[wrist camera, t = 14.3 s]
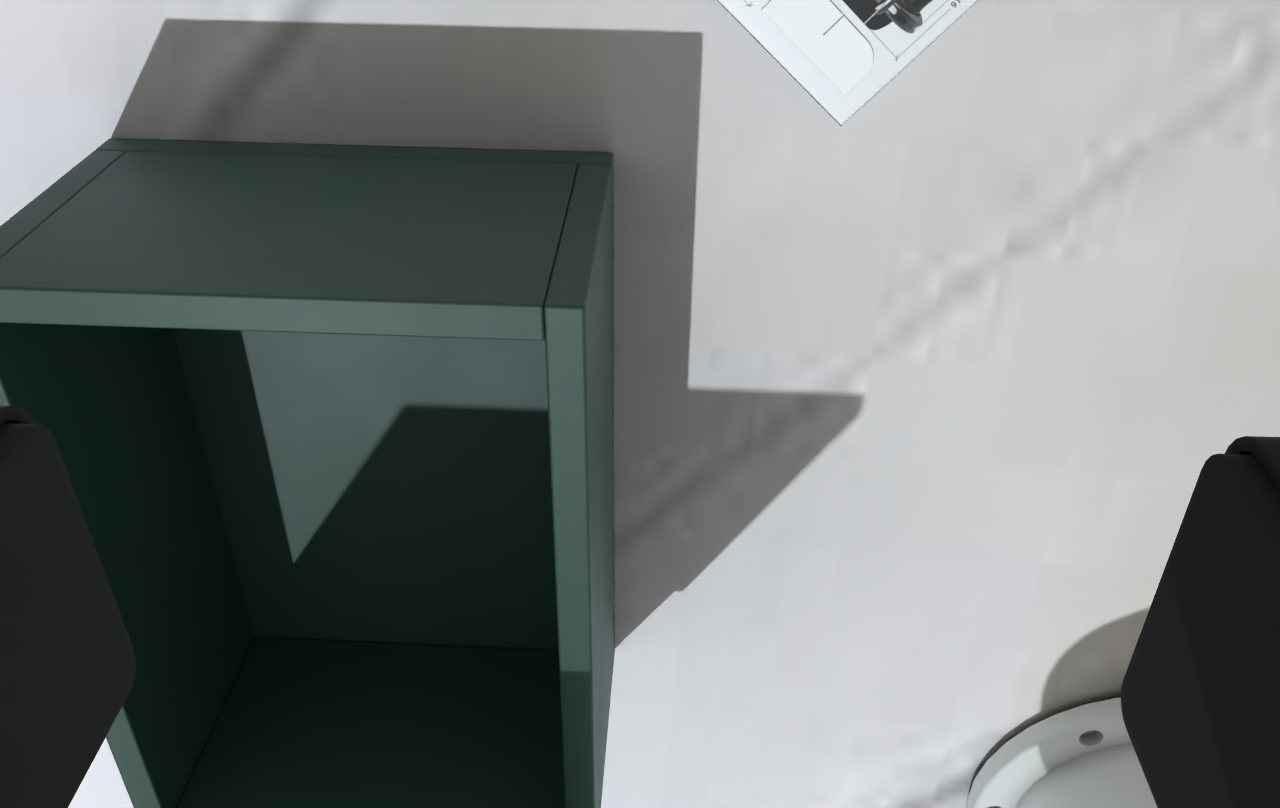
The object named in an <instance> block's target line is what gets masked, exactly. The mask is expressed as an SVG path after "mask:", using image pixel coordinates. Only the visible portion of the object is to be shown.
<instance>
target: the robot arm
mask: <svg viewBox="0 0 1280 808" xmlns="http://www.w3.org/2000/svg"><path fill="white" fill-rule="evenodd" d="M135 668H136V661H135V653H134V648H133V645H132V643H131V640H130V637H129V635H128V632H127V629H126V627H125V624H124V622H123V619H122V616H121V614H120V611H119V608H118V606H117V603H116V600H115V598H114V595H113V592H112V590H111V587H110V584H109V582H108V579H107V576H106V574H105V571H104V568H103V566H102V563H101V560H100V558H99V555H98V552H97V550H96V547H95V544H94V542H93V539H92V536H91V534H90V531H89V528H88V526H87V523H86V520H85V518H84V515H83V512H82V510H81V507H80V504H79V502H78V499H77V496H76V494H75V491H74V489H73V486H72V483H71V481H70V478H69V475H68V473H67V470H66V467H65V465H64V462H63V459H62V457H61V454H60V451H59V449H58V446H57V443H56V441H55V439H54V437H53V435H52V433H51V431H50V430H48V429H47V428H46V427H45V426H43V425H39V424H35V423H34V421H33V419H32V417H31V416H30V415H29V414H28V413H27V412H26V411H25V410H24V409H22V408H18V407H15V406H0V808H68V806H69V804H70V802H71V801H72V799H73V797H74V795H75V793H76V791H77V789H78V788H79V786H80V784H81V782H82V780H83V778H84V776H85V775H86V773H87V771H88V769H89V767H90V765H91V763H92V762H93V760H94V758H95V756H96V754H97V752H98V750H99V749H100V747H101V745H102V743H103V741H104V739H105V737H106V736H107V734H108V732H109V730H110V728H111V726H112V725H113V723H114V721H115V719H116V717H117V715H118V713H119V712H120V710H121V708H122V706H123V704H124V702H125V700H126V699H127V697H128V695H129V692H130V690H131V688H132V684H133V680H134V677H135ZM967 808H1280V437H1250V436H1245V437H1241V438H1238V439H1236V440H1235V441H1234V442H1233V443H1232V444H1231V445H1230V446H1229V447H1228V449H1227V451H1226V452H1225V454H1216V455H1212V456H1211V457H1210V458H1209V459H1207V460H1206V462H1205V464H1204V466H1203V468H1202V470H1201V472H1200V475H1199V478H1198V481H1197V483H1196V486H1195V489H1194V491H1193V494H1192V497H1191V499H1190V502H1189V505H1188V507H1187V510H1186V513H1185V516H1184V518H1183V521H1182V524H1181V526H1180V529H1179V532H1178V534H1177V537H1176V540H1175V542H1174V545H1173V548H1172V551H1171V553H1170V556H1169V559H1168V561H1167V564H1166V567H1165V569H1164V572H1163V575H1162V577H1161V580H1160V583H1159V585H1158V588H1157V591H1156V594H1155V596H1154V599H1153V602H1152V604H1151V607H1150V610H1149V612H1148V615H1147V618H1146V620H1145V623H1144V626H1143V629H1142V631H1141V634H1140V637H1139V639H1138V642H1137V645H1136V647H1135V650H1134V653H1133V655H1132V658H1131V661H1130V664H1129V666H1128V669H1127V672H1126V674H1125V677H1124V680H1123V684H1122V689H1121V697H1117V698H1112V699H1108V700H1103V701H1098V702H1093V703H1088V704H1084V705H1081V706H1078V707H1075V708H1072V709H1069V710H1066V711H1063V712H1060V713H1057V714H1055V715H1053V716H1051V717H1048V718H1046V719H1044V720H1042V721H1040V722H1038V723H1036V724H1034V725H1032V726H1030V727H1028V728H1027V729H1025V730H1024V731H1022V732H1021V733H1019V734H1018V735H1016V736H1015V737H1013V738H1012V739H1010V740H1009V741H1008V742H1006V743H1005V744H1004V745H1003V746H1002V747H1001V748H1000V749H999V750H998V751H997V752H996V753H994V754H993V755H992V756H991V757H990V758H989V759H988V760H987V761H986V763H985V764H984V766H983V767H982V769H981V770H980V772H979V773H978V775H977V776H976V778H975V779H974V782H973V784H972V787H971V790H970V793H969V795H968V803H967Z"/></svg>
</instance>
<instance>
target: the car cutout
mask: <svg viewBox="0 0 1280 808" xmlns="http://www.w3.org/2000/svg"><path fill="white" fill-rule="evenodd" d="M717 1H718V2H719V3H720V4H721V5H722V6H723V7H724V8H725V9H726V10H727V11H728V12H729V13H730V14H731V15H732V16H733V17H734V18H735V19H736V20H737V21H738V22H739V23H740V24H741V25H742V26H743V27H744V28H745V29H746V30H747V31H748V32H749V33H750V34H751V35H752V36H753V37H754V38H755V39H756V40H757V41H758V42H759V43H760V44H761V45H762V46H763V47H764V48H765V49H766V50H767V51H768V52H769V53H770V54H771V55H772V56H773V58H774V59H775V60H776V61H777V62H778V63H779V64H780V65H781V66H782V67H783V68H784V69H785V70H786V71H787V72H788V73H789V74H790V75H791V76H792V77H793V78H794V79H795V80H796V81H797V82H798V83H799V84H800V85H801V86H802V87H803V88H804V89H805V90H806V91H807V92H808V93H809V94H810V95H811V96H812V97H813V98H814V99H815V100H816V101H817V102H818V103H819V104H820V105H821V106H822V107H823V108H824V109H825V110H826V111H827V112H828V113H829V114H830V115H831V116H832V118H833V119H834V120H835V121H836V122H837V123H838V124H839V125H840V126H842V125H843V124H844V123H845V122H846V121H847V120H848V119H849V118H850V117H851V116H853V115H854V114H855V113H856V112H857V111H858V110H859V109H860V108H861V107H862V106H864V105H865V104H866V103H867V102H868V101H869V100H870V99H871V98H872V97H873V96H874V95H876V94H877V93H878V92H879V91H880V90H881V89H882V88H883V87H884V86H885V85H886V84H888V83H889V82H890V81H891V80H892V79H893V78H894V77H895V76H896V75H897V74H898V73H900V72H901V71H902V70H903V69H904V68H905V67H906V66H907V65H908V64H909V63H911V62H912V61H913V60H914V59H915V58H916V57H917V56H918V55H919V54H920V53H921V52H923V51H924V50H925V49H926V48H927V47H928V46H929V45H930V44H931V43H932V42H933V41H935V40H936V39H937V38H938V37H939V36H940V35H941V34H942V33H943V32H944V31H945V30H947V29H948V28H949V27H950V26H951V25H952V24H953V23H954V22H955V21H956V20H958V19H959V18H960V17H961V16H962V15H963V14H964V13H965V12H966V11H967V10H968V9H970V8H971V7H972V6H973V5H974V4H975V3H976V2H977V1H978V0H717Z"/></svg>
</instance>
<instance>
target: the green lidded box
mask: <svg viewBox="0 0 1280 808" xmlns="http://www.w3.org/2000/svg"><path fill="white" fill-rule="evenodd" d="M0 406H15V407H18V408H22V409H24V410H25V411H26V412H27V413H28V414H29V415H30V416H31V417H32V419H33V421H34V423H35V424H39V425H43V426H45V427H46V428H47V429H48V430H50V431H51V433H52V435H53V437H54V439H55V441H56V443H57V446H58V449H59V451H60V454H61V457H62V459H63V462H64V465H65V467H66V470H67V473H68V475H69V478H70V481H71V483H72V486H73V489H74V491H75V494H76V496H77V499H78V502H79V504H80V507H81V510H82V512H83V515H84V518H85V520H86V523H87V526H88V528H89V531H90V534H91V536H92V539H93V542H94V544H95V547H96V550H97V552H98V555H99V558H100V560H101V563H102V566H103V568H104V571H105V574H106V576H107V579H108V582H109V584H110V587H111V590H112V592H113V595H114V598H115V600H116V603H117V606H118V608H119V611H120V614H121V616H122V619H123V622H124V624H125V627H126V629H127V632H128V635H129V637H130V640H131V643H132V645H133V648H134V653H135V661H136V668H135V677H134V680H133V684H132V688H131V690H130V692H129V695H128V697H127V699H126V700H125V702H124V704H123V706H122V708H121V710H120V712H119V713H118V715H117V717H116V719H115V721H114V723H113V725H112V726H111V728H110V730H109V732H108V734H107V736H106V739H107V741H108V744H109V746H110V749H111V751H112V754H113V756H114V759H115V761H116V764H117V766H118V769H119V771H120V774H121V776H122V779H123V781H124V784H125V786H126V789H127V792H128V794H129V797H130V799H131V802H132V804H133V807H134V808H601V798H602V786H603V775H604V764H605V752H606V741H607V730H608V719H609V707H610V696H611V685H612V673H613V663H614V651H615V624H614V222H613V153H607V152H571V151H536V150H500V149H465V148H429V147H394V146H358V145H323V144H287V143H252V142H216V141H180V140H145V139H108V140H107V141H106V142H105V143H103V144H102V145H101V146H100V147H99V148H97V149H96V150H95V151H94V152H92V153H91V154H90V155H89V156H87V157H86V158H85V159H84V160H82V161H81V162H80V163H79V164H77V165H76V166H75V167H74V168H72V169H71V170H70V171H69V172H67V173H66V174H65V175H64V176H62V177H61V178H60V179H59V180H57V181H56V182H55V183H54V184H53V185H51V186H50V187H49V188H48V189H46V190H45V191H44V192H43V193H41V194H40V195H39V196H38V197H36V198H35V199H34V200H33V201H31V202H30V203H29V204H28V205H26V206H25V207H24V208H23V209H21V210H20V211H19V212H18V213H16V214H15V215H14V216H13V217H11V218H10V219H9V220H8V221H6V222H5V223H4V224H3V225H1V226H0Z"/></svg>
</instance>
